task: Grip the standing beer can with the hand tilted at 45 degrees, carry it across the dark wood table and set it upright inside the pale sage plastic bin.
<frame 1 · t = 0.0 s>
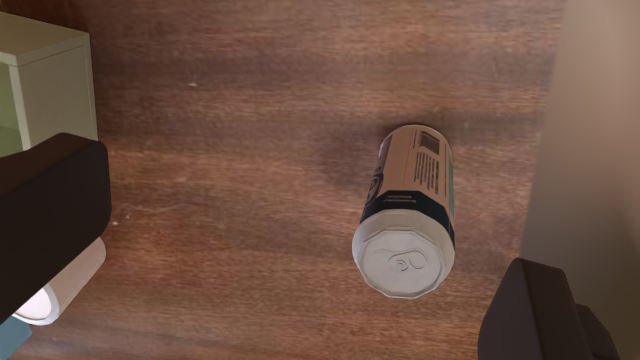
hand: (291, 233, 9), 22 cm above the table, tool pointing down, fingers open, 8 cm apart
bin: (36, 83, 36), on the table
teapot: (4, 290, 50), on the table
beer can: (415, 153, 32), on the table
white cup: (80, 242, 44), on the table
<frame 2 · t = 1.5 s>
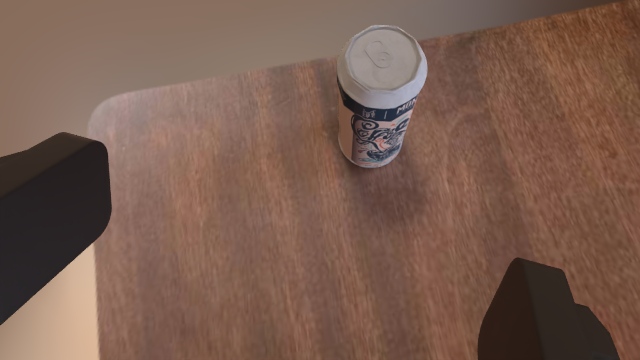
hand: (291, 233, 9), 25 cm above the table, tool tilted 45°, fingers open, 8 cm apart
beer can: (369, 140, 36), on the table
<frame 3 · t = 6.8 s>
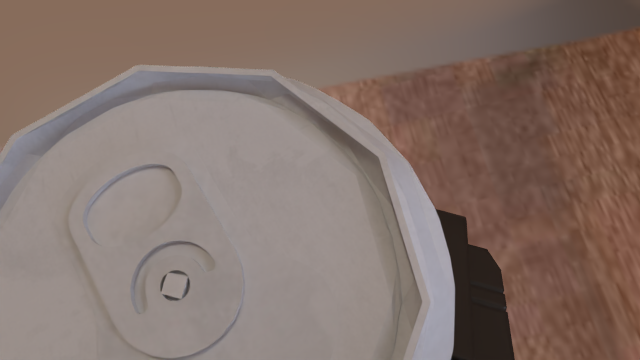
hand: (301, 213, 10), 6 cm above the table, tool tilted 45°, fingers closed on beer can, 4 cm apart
beer can: (302, 307, 15), on the table, touching gripper
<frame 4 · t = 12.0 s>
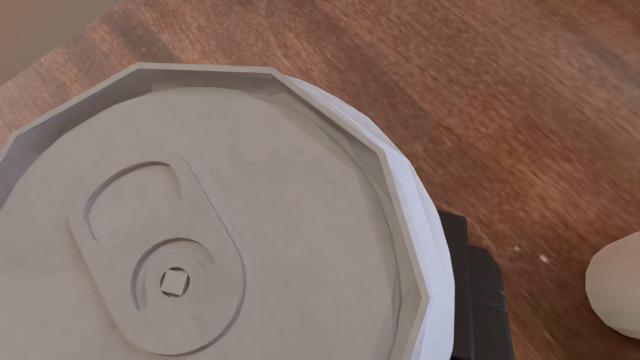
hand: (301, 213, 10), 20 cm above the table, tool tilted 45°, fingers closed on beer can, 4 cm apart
beer can: (302, 306, 15), point 14 cm above the table, touching gripper
white cup: (631, 288, 28), on the table
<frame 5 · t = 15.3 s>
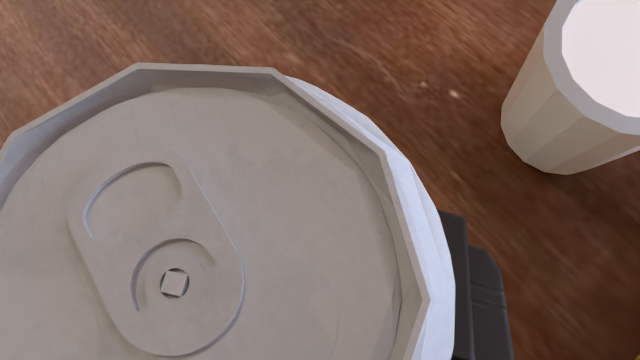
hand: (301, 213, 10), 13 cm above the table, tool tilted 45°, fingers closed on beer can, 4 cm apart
beer can: (302, 306, 15), point 7 cm above the table, touching gripper
white cup: (555, 123, 24), on the table
when the fingers open (7 cm above the table, at t = 17.6 s): beer can stays where it is, resting on bin.
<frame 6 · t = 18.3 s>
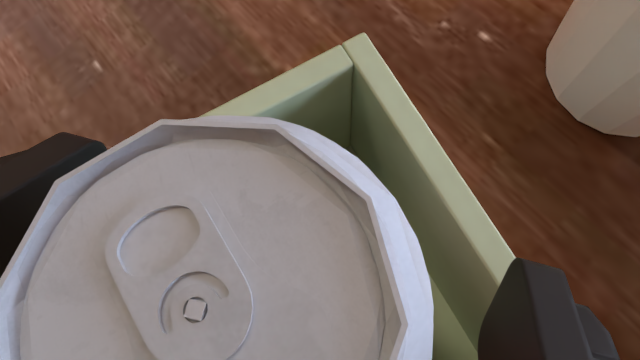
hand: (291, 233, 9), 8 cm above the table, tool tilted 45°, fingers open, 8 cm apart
bin: (305, 307, 17), on the table
beer can: (303, 312, 16), resting on bin
white cup: (616, 72, 19), on the table
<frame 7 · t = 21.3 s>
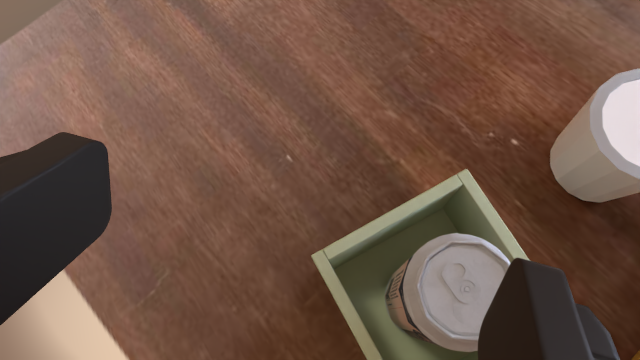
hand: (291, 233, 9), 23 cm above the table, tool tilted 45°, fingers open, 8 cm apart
bin: (421, 297, 31), on the table
beer can: (421, 299, 30), resting on bin
white cup: (590, 163, 33), on the table
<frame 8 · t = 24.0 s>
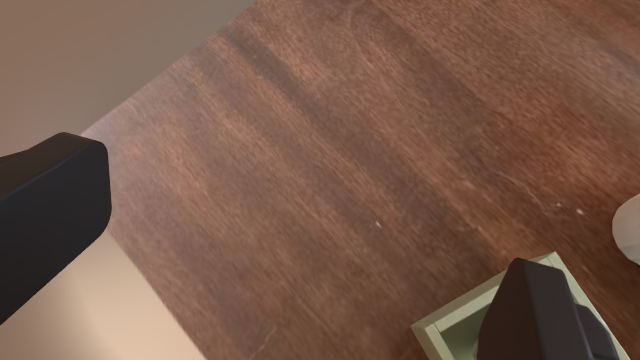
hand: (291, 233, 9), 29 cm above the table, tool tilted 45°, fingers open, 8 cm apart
bin: (502, 353, 35), on the table
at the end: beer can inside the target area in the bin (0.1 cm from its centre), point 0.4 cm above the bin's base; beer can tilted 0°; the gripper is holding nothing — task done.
